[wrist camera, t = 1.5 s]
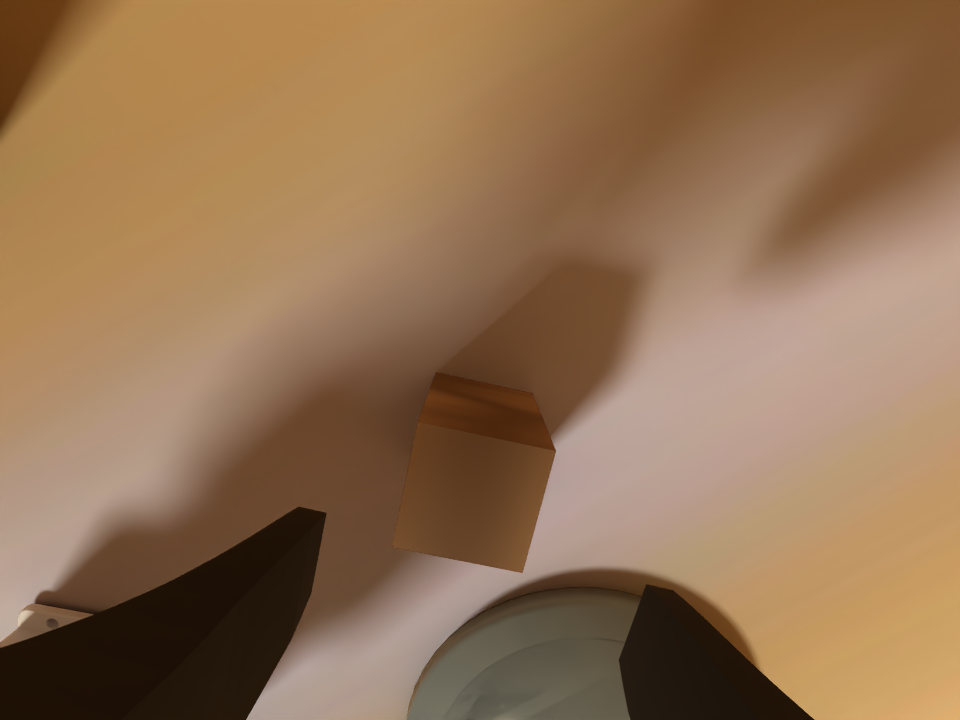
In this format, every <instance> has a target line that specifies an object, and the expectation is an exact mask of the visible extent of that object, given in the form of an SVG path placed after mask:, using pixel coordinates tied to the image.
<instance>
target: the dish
mask: <svg viewBox="0 0 960 720" xmlns="http://www.w3.org/2000/svg"><path fill="white" fill-rule="evenodd" d="M641 598H642V597H640V596H636V595H632V594H629V593H625V592H621V591H615V590H608V589H600V588H564V589H553V590H547V591H542V592H537V593H533V594H528V595H525V596H522V597H519V598H516V599H513V600H510V601H507V602H504V603H502V604H500V605H498V606H496V607H494V608H491V609H489V610H487V611H485V612H483V613H482V614H480V615H479V616H477V617H476V618H474V619H472V620H471V621H469V622H468V623H466V624H465V625H464V626H462V627H461V628H460V629H459V630H458V631H456V632H455V633H454V634H453V635H451V636H450V637H449V638H448V639H447V640H446V641H445V642H444V643H443V645H442V646H441V647H440V648H439V649H438V650H437V651H436V652H435V653H434V655H433V656H432V658H431V659H430V661H429V662H428V663H427V665H426V666H425V668H424V669H423V671H422V673H421V675H420V677H419V679H418V681H417V683H416V685H415V687H414V691H413V694H412V697H411V700H410V703H409V708H408V714H407V720H630V716H629V713H628V709H627V704H626V699H625V694H624V689H623V683H622V677H621V671H620V665H619V658H620V655H621V652H622V649H623V647H624V644H625V641H626V638H627V636H628V633H629V630H630V628H631V625H632V622H633V619H634V617H635V614H636V611H637V608H638V606H639V603H640V600H641Z"/></svg>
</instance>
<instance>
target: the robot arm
mask: <svg viewBox="0 0 960 720" xmlns="http://www.w3.org/2000/svg"><path fill="white" fill-rule="evenodd" d="M325 518H326V513H324V512H320V511H315V510H311V509H306V508H302V507H298V508H296V509H294V510H292V511H291V512H289V513H287V514H286V515H284V516H283V517H281V518H279V519H278V520H276V521H275V522H273V523H271V524H270V525H268V526H267V527H265V528H264V529H262V530H260V531H259V532H257V533H256V534H254V535H252V536H251V537H249V538H247V539H246V540H244V541H242V542H241V543H239V544H237V545H236V546H234V547H232V548H231V549H229V550H227V551H226V552H224V553H222V554H220V555H219V556H217V557H215V558H213V559H212V560H210V561H208V562H206V563H204V564H202V565H200V566H199V567H197V568H195V569H193V570H191V571H189V572H187V573H185V574H184V575H182V576H180V577H178V578H176V579H174V580H172V581H170V582H168V583H166V584H164V585H162V586H159V587H157V588H155V589H153V590H151V591H149V592H147V593H144V594H142V595H140V596H137V597H135V598H133V599H131V600H128V601H126V602H124V603H121V604H119V605H117V606H114V607H112V608H109V609H107V610H105V611H102V612H99V613H97V614H89V613H83V612H78V611H73V610H67V609H62V608H56V607H51V606H46V605H40V604H30V605H28V606H27V607H25V608H24V609H23V610H21V611H20V613H19V615H18V629H16V630H15V631H14V632H13V633H11V634H10V635H9V636H8V637H6V638H5V639H4V640H3V641H2V642H0V720H246V719H247V717H248V715H249V714H250V712H251V710H252V708H253V706H254V705H255V703H256V701H257V699H258V698H259V696H260V694H261V692H262V691H263V689H264V687H265V685H266V684H267V682H268V680H269V678H270V677H271V675H272V673H273V671H274V669H275V668H276V666H277V664H278V662H279V661H280V659H281V657H282V655H283V653H284V652H285V650H286V648H287V646H288V644H289V643H290V641H291V639H292V637H293V634H294V632H295V630H296V628H297V625H298V623H299V621H300V618H301V616H302V614H303V611H304V609H305V607H306V604H307V602H308V600H309V597H310V595H311V591H312V586H313V581H314V576H315V570H316V565H317V560H318V555H319V549H320V544H321V539H322V534H323V529H324V523H325ZM619 665H620V671H621V677H622V683H623V689H624V694H625V699H626V704H627V709H628V713H629V716H630V720H814V719H813V718H812V717H811V716H810V715H808V714H807V713H806V712H805V711H804V710H803V709H802V708H800V707H799V706H798V705H797V704H796V703H795V702H794V701H792V700H791V699H790V698H789V697H788V696H787V695H786V694H784V693H783V692H782V691H781V690H780V689H779V688H778V687H777V686H776V685H774V684H773V683H772V682H771V681H770V680H769V679H768V678H767V677H766V676H765V675H764V674H762V673H761V672H760V671H759V670H758V669H757V668H756V667H755V666H754V665H753V664H752V663H751V662H750V661H749V660H748V659H746V658H745V657H744V656H743V655H742V654H741V653H740V652H739V651H738V650H737V649H736V648H735V647H734V646H733V645H732V644H731V643H730V642H729V641H728V640H727V639H725V638H724V637H723V636H722V635H721V634H720V633H719V632H718V631H717V630H716V629H715V628H714V627H713V626H712V625H711V624H710V623H709V622H708V621H707V620H706V619H705V618H704V617H702V616H701V615H700V614H699V613H698V612H697V611H696V610H695V609H694V608H693V607H692V606H691V605H689V604H688V603H687V602H686V601H685V600H684V599H683V598H682V597H680V596H679V595H678V594H677V593H675V592H674V591H673V590H669V589H665V588H660V587H656V586H651V585H647V584H646V587H645V589H644V592H643V595H642V598H641V600H640V603H639V606H638V608H637V611H636V614H635V617H634V619H633V622H632V625H631V628H630V630H629V633H628V636H627V638H626V641H625V644H624V647H623V649H622V652H621V655H620V658H619Z"/></svg>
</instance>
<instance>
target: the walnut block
mask: <svg viewBox="0 0 960 720" xmlns="http://www.w3.org/2000/svg"><path fill="white" fill-rule="evenodd" d="M555 453H556V450H555V448H554V445H553V443H552V440H551V438H550V435H549V433H548V430H547V428H546V426H545V423H544V421H543V418H542V416H541V413H540V411H539V408H538V406H537V404H536V401H535V399H534V396H533V394H532V393H528V392H524V391H519V390H515V389H510V388H505V387H501V386H496V385H492V384H487V383H482V382H478V381H473V380H469V379H464V378H459V377H455V376H450V375H445V374H441V373H436V374H435V376H434V379H433V382H432V385H431V387H430V390H429V393H428V395H427V398H426V401H425V404H424V406H423V409H422V412H421V415H420V417H419V420H418V423H417V428H416V433H415V438H414V443H413V447H412V452H411V457H410V462H409V467H408V471H407V476H406V481H405V486H404V491H403V495H402V500H401V505H400V510H399V515H398V519H397V524H396V529H395V534H394V539H393V543H392V547H394V548H399V549H404V550H409V551H414V552H419V553H424V554H429V555H434V556H439V557H444V558H449V559H454V560H459V561H465V562H470V563H475V564H480V565H485V566H490V567H495V568H500V569H505V570H510V571H515V572H520V573H523V569H524V566H525V562H526V559H527V555H528V551H529V548H530V544H531V540H532V537H533V533H534V529H535V526H536V522H537V518H538V515H539V511H540V507H541V504H542V500H543V497H544V493H545V489H546V486H547V482H548V478H549V475H550V471H551V467H552V464H553V460H554V456H555Z"/></svg>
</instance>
